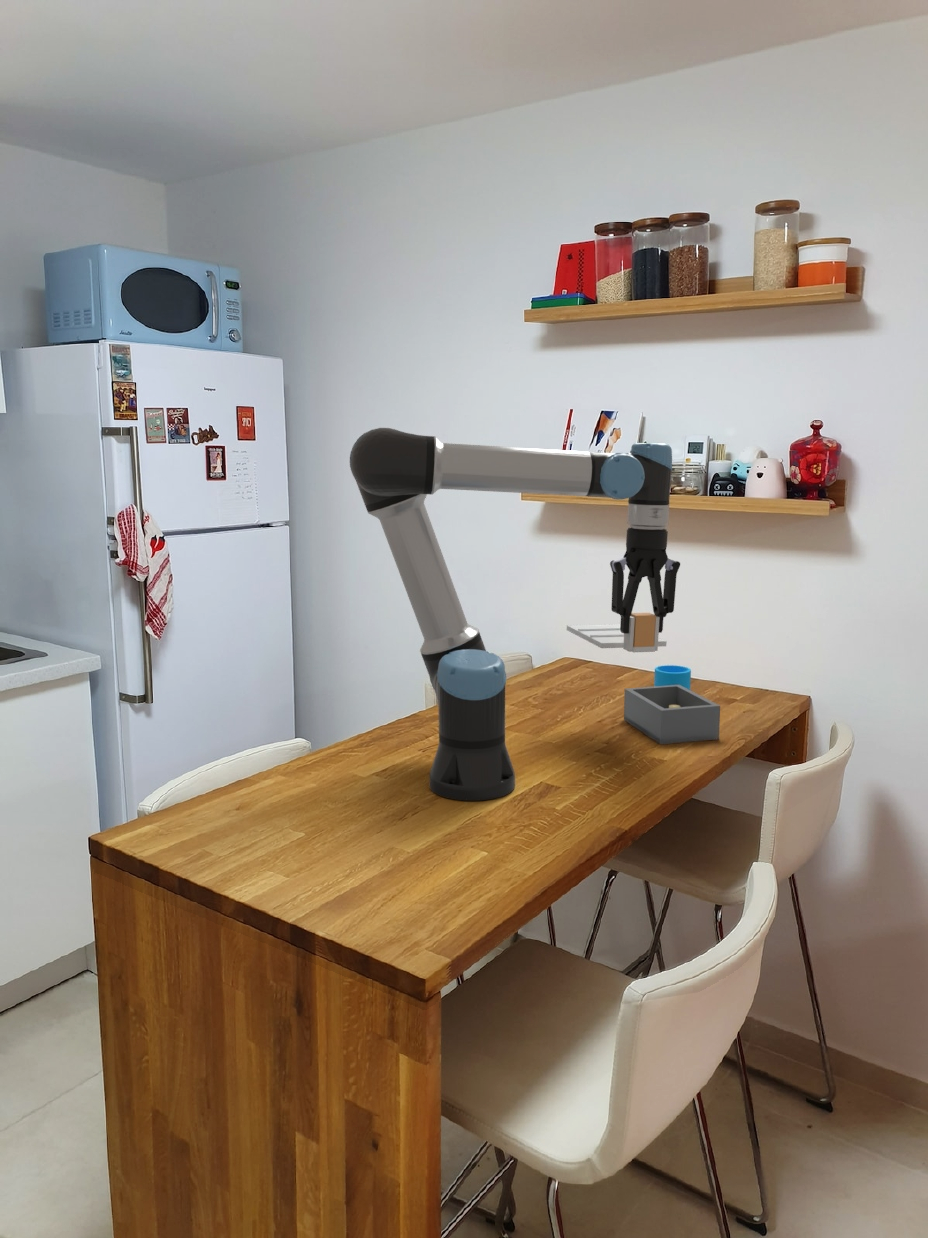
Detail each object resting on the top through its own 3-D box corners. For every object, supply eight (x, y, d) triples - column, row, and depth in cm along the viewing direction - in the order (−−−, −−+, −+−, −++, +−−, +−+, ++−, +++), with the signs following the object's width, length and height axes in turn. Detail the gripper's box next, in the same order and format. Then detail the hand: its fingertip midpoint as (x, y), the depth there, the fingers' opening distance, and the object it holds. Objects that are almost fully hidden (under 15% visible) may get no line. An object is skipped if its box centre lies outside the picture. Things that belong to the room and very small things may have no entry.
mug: (684, 710, 217) (685, 674, 215) (649, 705, 221) (650, 671, 219) (698, 697, 227) (699, 664, 226) (664, 693, 231) (665, 660, 229)
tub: (660, 744, 192) (661, 710, 191) (623, 719, 209) (624, 688, 208) (718, 739, 195) (720, 705, 194) (678, 715, 212) (679, 684, 211)
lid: (610, 653, 179) (612, 616, 178) (566, 630, 201) (568, 597, 200) (676, 651, 183) (679, 614, 181) (626, 628, 204) (628, 596, 203)
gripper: (612, 528, 172) (605, 655, 176) (699, 529, 177) (691, 652, 181) (596, 525, 179) (590, 647, 184) (680, 525, 184) (672, 644, 188)
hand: (640, 649), depth 182 cm, fingers closed on lid, 4 cm apart
